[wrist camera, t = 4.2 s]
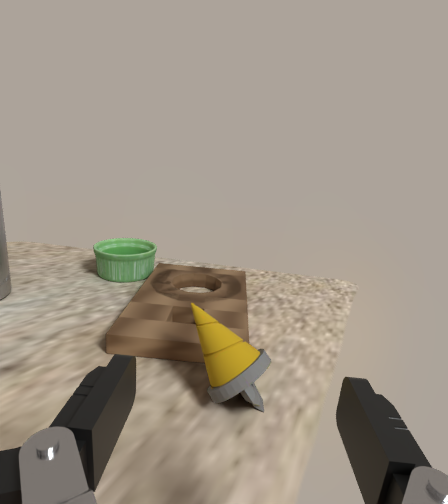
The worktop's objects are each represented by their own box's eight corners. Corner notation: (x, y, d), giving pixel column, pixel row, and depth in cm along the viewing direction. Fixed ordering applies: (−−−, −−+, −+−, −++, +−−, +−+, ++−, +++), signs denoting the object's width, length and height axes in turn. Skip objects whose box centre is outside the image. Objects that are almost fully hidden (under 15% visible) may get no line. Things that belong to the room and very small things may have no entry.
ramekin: (159, 265, 53) (159, 239, 52) (152, 286, 45) (152, 256, 44) (103, 262, 53) (103, 236, 51) (85, 283, 44) (84, 253, 43)
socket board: (106, 353, 29) (105, 334, 29) (158, 275, 49) (158, 263, 48) (247, 367, 29) (249, 348, 29) (243, 283, 48) (245, 271, 48)
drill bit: (235, 450, 21) (155, 324, 23) (235, 420, 27) (170, 319, 28) (299, 403, 22) (216, 282, 23) (287, 382, 27) (220, 285, 28)
